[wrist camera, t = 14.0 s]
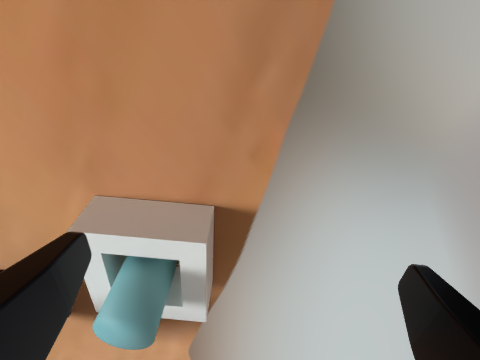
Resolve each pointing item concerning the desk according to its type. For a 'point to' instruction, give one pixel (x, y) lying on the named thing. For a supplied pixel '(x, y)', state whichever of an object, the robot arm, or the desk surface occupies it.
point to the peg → (135, 303)
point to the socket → (151, 248)
